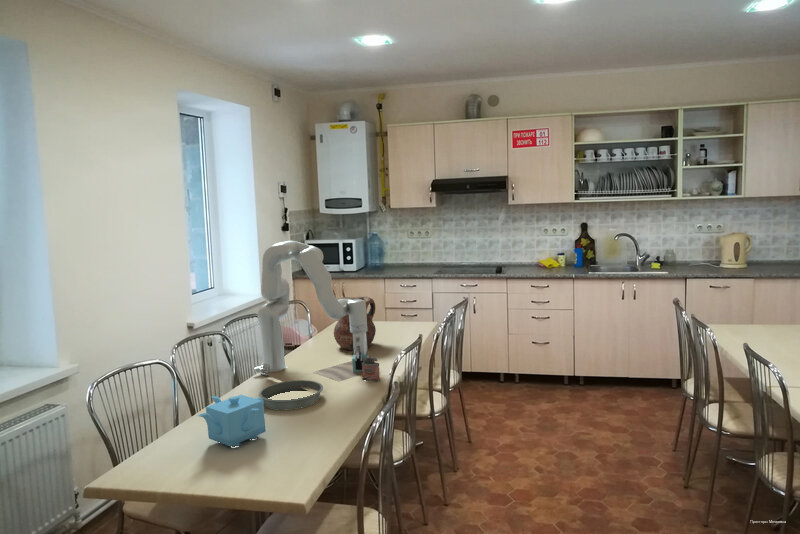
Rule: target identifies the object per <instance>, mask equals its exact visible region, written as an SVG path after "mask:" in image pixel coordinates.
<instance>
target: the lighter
mask: <svg viewBox="0 0 800 534" xmlns="http://www.w3.org/2000/svg"><path fill="white" fill-rule="evenodd" d="M364 361H365V362H362V370H363V374H362V377H363V378H362V381H364V380H366V381H365V382H369V381H375V382H374V383H379V382H381V377H380V362H378V358H377V357H371V356H369V357H365V358H364ZM366 361H367V362H366Z"/></svg>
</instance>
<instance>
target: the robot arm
mask: <svg viewBox="0 0 800 534" xmlns="http://www.w3.org/2000/svg"><path fill="white" fill-rule="evenodd" d="M291 260H293V261H298V263H299V265H300V266H301V268H302V269H303V270H304V272H305V274H306V275H307V276H308V278H309V280H310V281H311V283H312V284H313V287H314V289H315V293H316V296H317V299H318V302H319V304H320V306H321V307H322V308H323V310H324V312H325V314H326V315H327V316H328V317H329V318H330V319H332V320H335V321H336V320H338V321H339V320H340V319H341V318H342V317H344V316H346V315H349V321H350V332H351V333H353V347H354V350H353V356H354V355H356V359H355V360H356V361H355V364H356V370H362V362H363V360H362V355H363V354H364V355H365V354H367V352H368V347H367V339H366V332H367V315H366V302H365V301H364V300H362V299H356V300H349V299H339V298H338V299H339V300H338V299H337V296H336V295H335V294H334V291H333V289H332V274H331V273H330V271H329V270H328V268H327V267H326V265H324V263H323V261H324V253H323V250H321V249H320V248H319V247H317V246H314V245H310V244H306V243H303V242H299V241H295V240H286V241H281V242H278V243H275V244H273V245H270V246H269V247H267V249H266V250H265V251H264V253H263V256H262V263H261V264H262V265H261V267H262V268H261V269H262V270H261V273H262V274H261V286H260V289H261V291H260V292H261V296H262V298H263V299H264V300H266V301H269V302H267V303H265V304H262V305H261V307H260V308H259V309H258V311H257V320H258V321H257V322H258V325H259V330H260V331H259V332H260V338H261V339H260V340H261V351H262V361H263V362H261V364H260V365H259V366H256V367H253V372H254V373H256V372H260V374H261V375H262V376H267V377H268V376H269V374H268V373H273V372H281V371H284V370H285V369H288V366H287V365H286V360H285V347H284V335H283V334H284V333H283V329H282V325H281V322H280V321H282V320H284V319H285V317H287V315H288V313H289V309H290V306H289V305H290V288H291V287H290V283H289V282H288V280H287V279H286V278H284V277H283V276H282V274H283V269H282V265H281V264H282V263H284V262H285V263H286V262H288V261H291Z"/></svg>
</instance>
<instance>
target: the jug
mask: <svg viewBox="0 0 800 534" xmlns="http://www.w3.org/2000/svg"><path fill="white" fill-rule="evenodd" d="M339 299H349V300H356V299H362V300H364V301H365V302H366V315H367V332H366V339H367V348H369V347H371V344H372V343H373V342H374V340H375V337H376V331H377V330H376V329H377V328H376V325H375V323H374V321H373V318H374V315H375V313H376V303H375V300H374V299H373V298H371V297H369V296H355V297H352V296H344V297H343V296H342V297H339V298H338V299H337V300H339ZM369 305H370V307H369ZM368 307H369V310H368ZM333 337H334V340H335V341H336V343H337V345H339V347H340V348H342V349H344V350H347V351H354V347H353V333H351V332H350V321H349V315H346V316H344V317H342V318H341V319H338V321H337V323H336V324H335V325H334V328H333Z"/></svg>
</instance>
